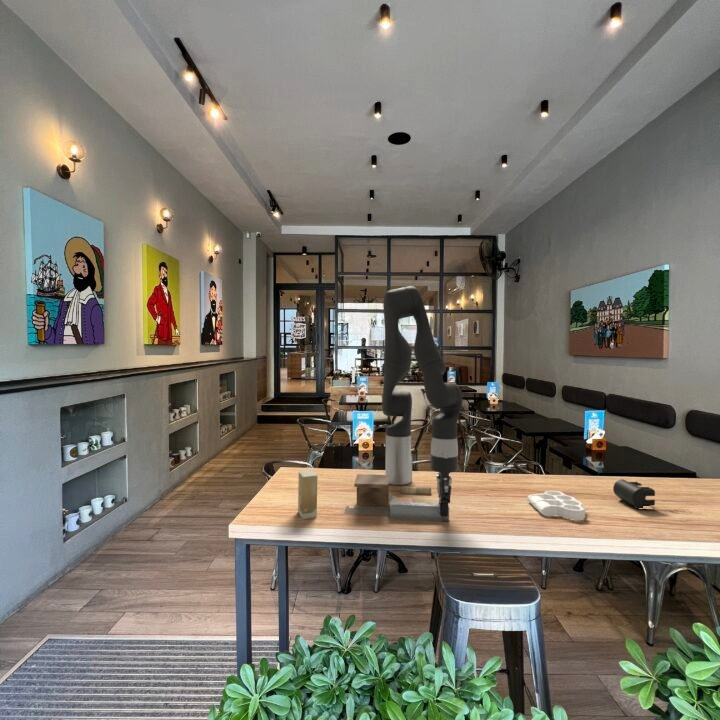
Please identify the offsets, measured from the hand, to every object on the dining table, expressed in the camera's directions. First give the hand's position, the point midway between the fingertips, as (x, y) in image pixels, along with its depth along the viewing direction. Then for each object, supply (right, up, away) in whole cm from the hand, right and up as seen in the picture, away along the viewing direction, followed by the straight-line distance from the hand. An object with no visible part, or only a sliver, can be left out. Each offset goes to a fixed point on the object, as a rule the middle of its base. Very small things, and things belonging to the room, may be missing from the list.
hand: (443, 513), depth 121 cm
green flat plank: (-16, -1, +6) cm, 17 cm away
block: (-11, -1, +5) cm, 12 cm away
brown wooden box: (-20, -1, +8) cm, 22 cm away
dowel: (-5, 0, +22) cm, 22 cm away
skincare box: (-39, -1, +3) cm, 39 cm away
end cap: (+62, -2, +13) cm, 64 cm away
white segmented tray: (+37, -2, +9) cm, 38 cm away
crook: (-7, -1, +3) cm, 7 cm away
